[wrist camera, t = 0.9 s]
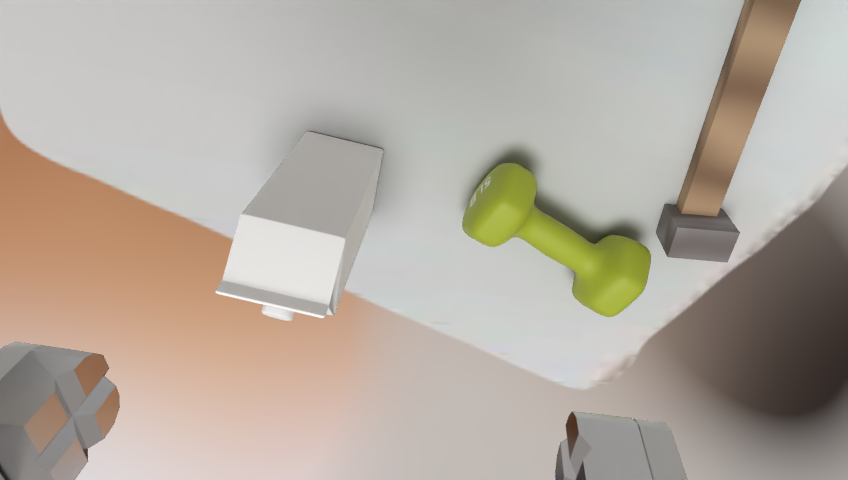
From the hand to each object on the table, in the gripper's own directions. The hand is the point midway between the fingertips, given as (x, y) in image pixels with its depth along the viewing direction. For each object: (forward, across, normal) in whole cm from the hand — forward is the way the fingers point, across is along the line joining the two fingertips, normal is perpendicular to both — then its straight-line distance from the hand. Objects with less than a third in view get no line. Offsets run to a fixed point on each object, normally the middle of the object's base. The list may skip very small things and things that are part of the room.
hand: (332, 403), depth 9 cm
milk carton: (+38, +10, +15) cm, 42 cm away
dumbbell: (+38, -10, +18) cm, 44 cm away
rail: (+38, -22, +3) cm, 44 cm away
